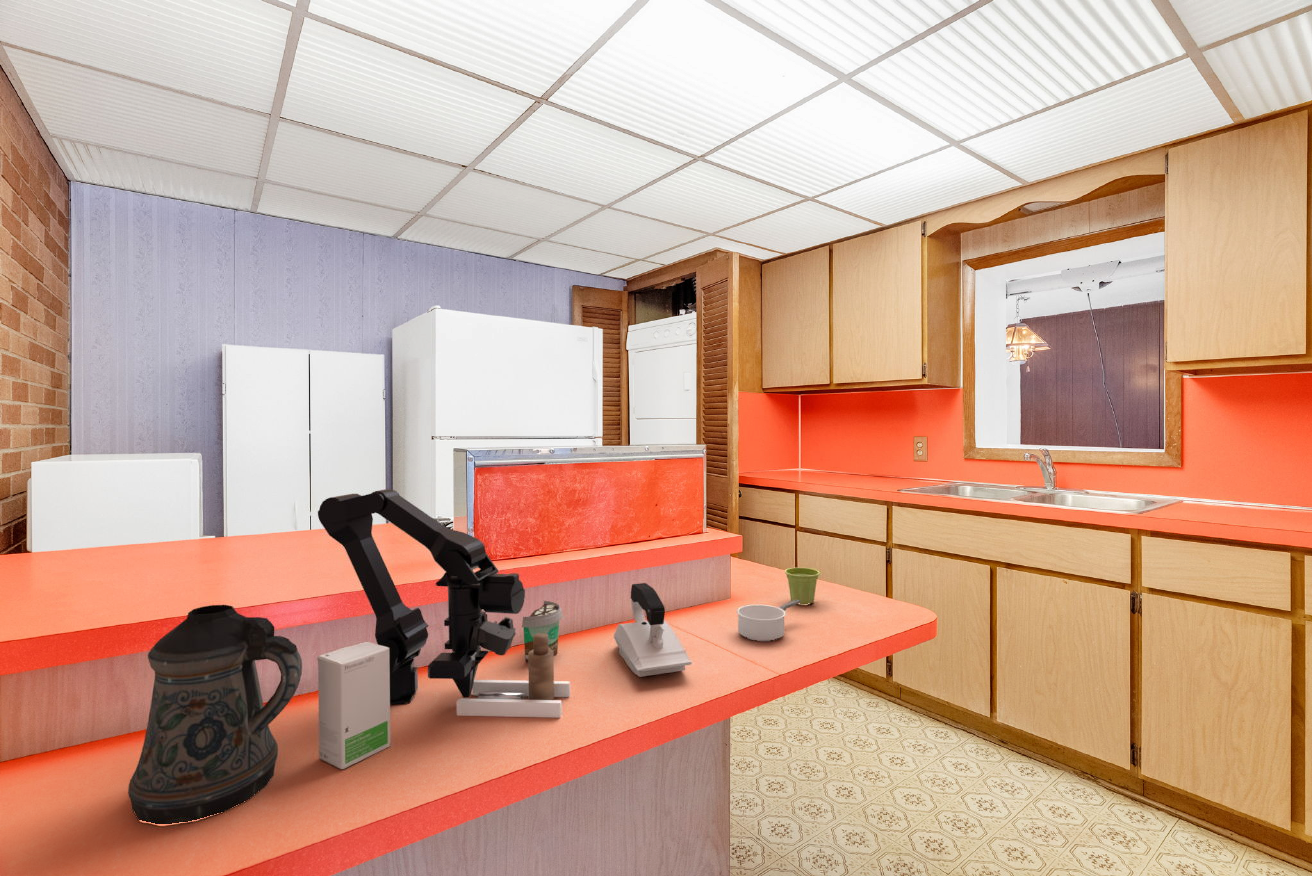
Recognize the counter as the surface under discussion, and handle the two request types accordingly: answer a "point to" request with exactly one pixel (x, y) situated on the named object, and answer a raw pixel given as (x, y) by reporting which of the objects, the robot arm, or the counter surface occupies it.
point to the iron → (649, 637)
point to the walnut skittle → (541, 669)
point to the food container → (542, 626)
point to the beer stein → (210, 716)
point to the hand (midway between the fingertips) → (466, 696)
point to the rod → (501, 695)
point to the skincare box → (353, 703)
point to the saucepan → (762, 621)
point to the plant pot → (802, 584)
